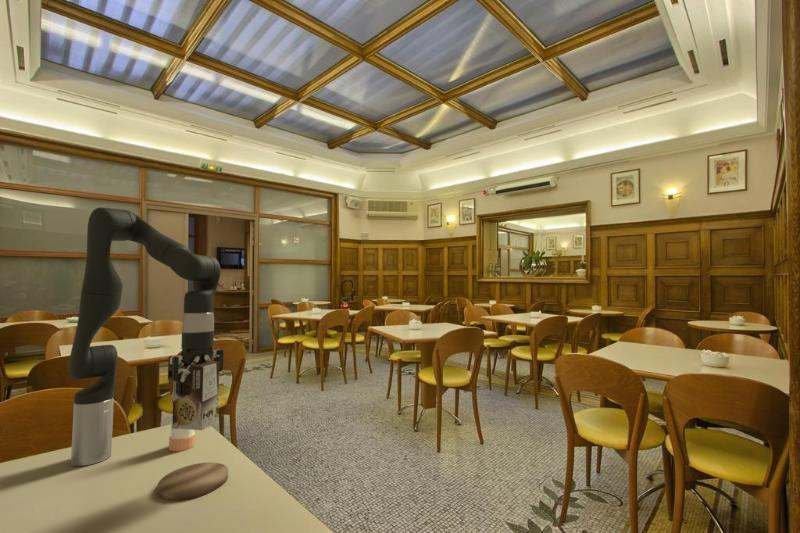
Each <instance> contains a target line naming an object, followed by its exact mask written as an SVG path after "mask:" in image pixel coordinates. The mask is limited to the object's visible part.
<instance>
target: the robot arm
mask: <svg viewBox="0 0 800 533" xmlns="http://www.w3.org/2000/svg"><path fill="white" fill-rule="evenodd" d="M86 238H87V239H86V258H85V259H86V261H85V269H84V275H83V282H82V286H81V291H80V299H79V309H78V317H77V318H78V319H77V325H76V330H75V334H74V338H73V342H72V347H71V350H70V356H69V361H68V373H69V377H70V378H72V379H73V380H84V379H91V378H98V379H96V381H94V382H93V383H92V384H91V385H88V386H87V387H84V388H82V389H80V390H79V391H77V392H75V393H74V397H73V414H72V415H73V418H72V433H71V434H72V436H71V438H72V439H71V453H70V465H71V466H72V467H73V466H74V467H83V466H89V465H94V464H97V463H101V462H103V461H106V460H107V459H109V458H110V457H111V456H112V446H113V443H112V442H113V427H114V426H113V424H114V423H113V422H114V405H115V404H114V400H115V397H114V396H115V388H116V376H117V369H118V358H119V357H118V351H117V350H118V349H117V348H116V346H115V345H114V344H102V345H91V344H92V341H93V339H94V337H95V336H96V334H97V333H98V332H99V330H100V329H102V327H103V326H104V325H105V324H106V323H107V322H108V321H109V320H110V319H111V318H112V317H113V316H114V315H115V313H116V312H117V311H118V309H119V307H120V305H121V300H122V295H123V286H124V285H123V281H122V278H121V277H120V275H119V273H118V272H117V270H116V268H115V266H114V264H113V263H112V262H113V261H112V259H111V258H112V257H111V249H112V248H111V247H112V242H114V241H115V242H117V241H118V242H124V241H130V242H134V243H137V244H140V245H143V246H144V249H145V251H146V253H147V254H148V255H149V256H150V257H151V258H152V259H154V260H155V261H158V263H161V264H163V265H164V266H167V267H169V268H170V269H171V271H172V272H174V274H176V275H177V276H178V277H180V278H182V279H183V280H186V281H190V282H191V281H192V282H196V283H195V287H194V289H193V290H188V291H186V293H185V294H184V297H183V316H182V321H181V345H180V347H181V351H182V352H181V354H180V355H176V356H175V355H170V356H168V357H167V361H168V362H167V380H168V381H172V382H173V381H175V382H176V392H175V393H176V395H177V396H179V397H184V396H185V383H186V382H184V381H185V379H186V378H187V376H188V374H190V373H191V369H190V368H191V366H194V365H196V364H200V363H204V362H212V360H211V359H212V357H213V362H219V372H222V371H223V370H224V349H221V348H215V349H213V347H214V343H215V341H214V340H215V315H214V312H215V310H214V309H215V307H214V306H215V304H214V303H215V302H214V301H215V295H216V293H217V292H216V291H217V288H218V285H219V282H220V279H221V275H222V274H221V272H222V271H221V265H220V262H219V261H218V259H217V258H215V257H214V256H209V255H200V254H196V253H192V251H191V250H190V248H189V247H187V246H186V245H185V244H183V243H181V242H180V241H177V240H175V239H173V238H171V237H168V236H167V235H165V234H164V233H162V232H160V231H158V229H156V228H155V227H153V226H152V225H151V224H149V223H148V222H146V221H145V220H144V219H143V218H142V217H140V216H139V215H138V214H136V213H135V212H133V211H131V210H128V209H122V208H121V209H120V208H114V207H96V208H95V209H93V210H92V211H91V213H90V215H89V218H88V222H87V233H86ZM182 363H183V364H182ZM179 364H182V365H185V366H188V368H187V369H180V370H179V372H178V369H179ZM182 372H183V374H182ZM110 455H111V456H110ZM109 456H110V457H109ZM108 457H109V458H108Z"/></svg>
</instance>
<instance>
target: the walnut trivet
mask: <svg viewBox="0 0 800 533" xmlns="http://www.w3.org/2000/svg"><path fill="white" fill-rule="evenodd" d="M228 479H229V468H228V467H227V466H226V465H225V464H223V463H219V462H200V463H193V464H190V465H185V466H183V467H180V468H178V469H175V470H173V471H171V472H169V473H167V474H166V475H164V476H163V477H162V478H161V479H159V481H158V483H157V487H156V490H157V491H156V492H157V493H156V494H157V495H158V497H159V498H161V499H164V500H165V501H185V500H192V499H196V498H199V497H202V496H205V495H209V493H210V494H211V493H212V492H214V491H216V490H218V489H219V488H220V487H223V486H224V485H225V483H227V480H228Z"/></svg>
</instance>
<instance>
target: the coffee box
mask: <svg viewBox="0 0 800 533" xmlns="http://www.w3.org/2000/svg"><path fill="white" fill-rule="evenodd" d="M211 361H212V360H211ZM182 364H183V362H181V363H180V364H179V369H178V372H179V370H180V369H187V368H188V366H185V365H182ZM190 369H191V373H190V374H188V376H187V378H186V379H185V381H184V382H186V383H185V396H184V397H179V396H177V395H176V393H175V392H176V382H175V381H172V382H173V383H172V387H173V388H172V393H173V400H172V418H173V419H171V423H172V428H174V429H189V430H194V431H203V430H205V429H207V428H210V427H211V426H214V425H216V424H218V422H219V392H220V391H219V387H220V385H219V384H220V371H219V362H214V360H213V361H212V362H204V363H200V364H196V365H194V366H191V368H190ZM182 374H183V372H182Z"/></svg>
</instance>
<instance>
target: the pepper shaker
mask: <svg viewBox="0 0 800 533" xmlns="http://www.w3.org/2000/svg"><path fill="white" fill-rule="evenodd" d="M170 397H171V399H172V401H173V392H172V393H171V396H170ZM171 418H172V419H173V417H171ZM172 419H171V420H172ZM195 445H196V432H195V430H189V429H174V428H172V422H171V424H170V436H169V438H168V450H169V451H170V452H183V451H187V450H189V449H192V448H193V447H195Z"/></svg>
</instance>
